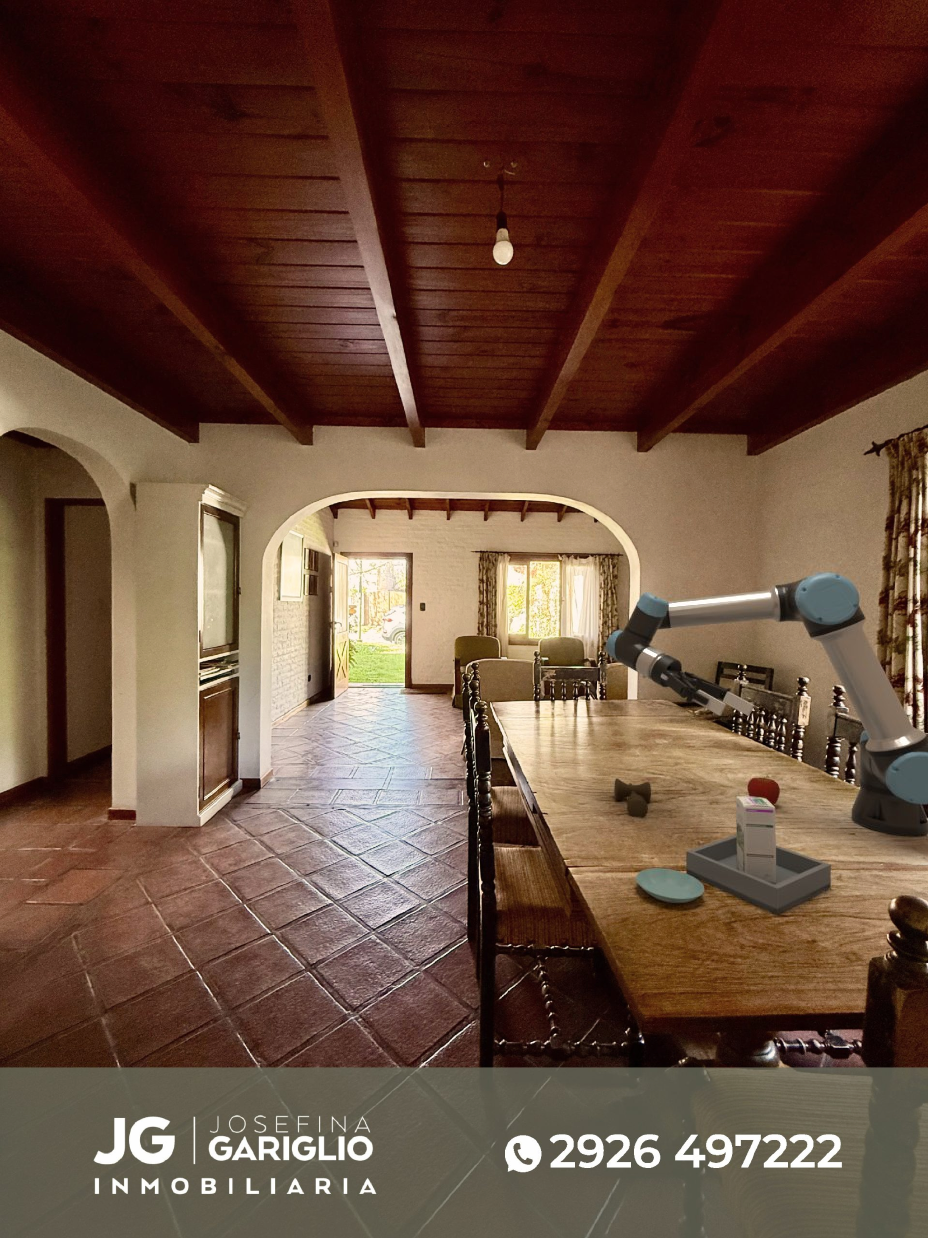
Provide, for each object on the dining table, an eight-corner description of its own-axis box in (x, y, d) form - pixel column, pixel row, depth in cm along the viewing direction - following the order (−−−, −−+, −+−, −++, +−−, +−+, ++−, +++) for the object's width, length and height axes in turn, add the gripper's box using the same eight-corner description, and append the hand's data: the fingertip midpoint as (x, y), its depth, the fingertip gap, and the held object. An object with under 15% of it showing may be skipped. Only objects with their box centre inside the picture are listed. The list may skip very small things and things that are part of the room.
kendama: (617, 818, 143) (612, 792, 163) (657, 822, 141) (647, 795, 161) (618, 795, 143) (613, 772, 163) (658, 799, 141) (648, 774, 161)
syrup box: (777, 884, 105) (777, 806, 105) (743, 881, 106) (743, 804, 106) (767, 870, 110) (767, 797, 110) (734, 868, 112) (735, 795, 111)
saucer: (646, 873, 111) (646, 862, 111) (710, 890, 105) (710, 878, 105) (627, 898, 102) (627, 886, 102) (696, 918, 95) (696, 905, 95)
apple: (772, 801, 155) (772, 773, 155) (785, 811, 147) (785, 781, 147) (742, 800, 156) (743, 772, 156) (754, 810, 148) (754, 780, 148)
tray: (740, 854, 121) (740, 833, 121) (830, 888, 105) (830, 864, 105) (686, 873, 111) (686, 851, 111) (777, 915, 96) (777, 889, 96)
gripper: (679, 682, 149) (754, 724, 133) (624, 678, 133) (702, 725, 117) (691, 657, 147) (769, 696, 131) (636, 650, 131) (717, 693, 115)
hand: (737, 710), depth 124 cm, fingers open, 13 cm apart
